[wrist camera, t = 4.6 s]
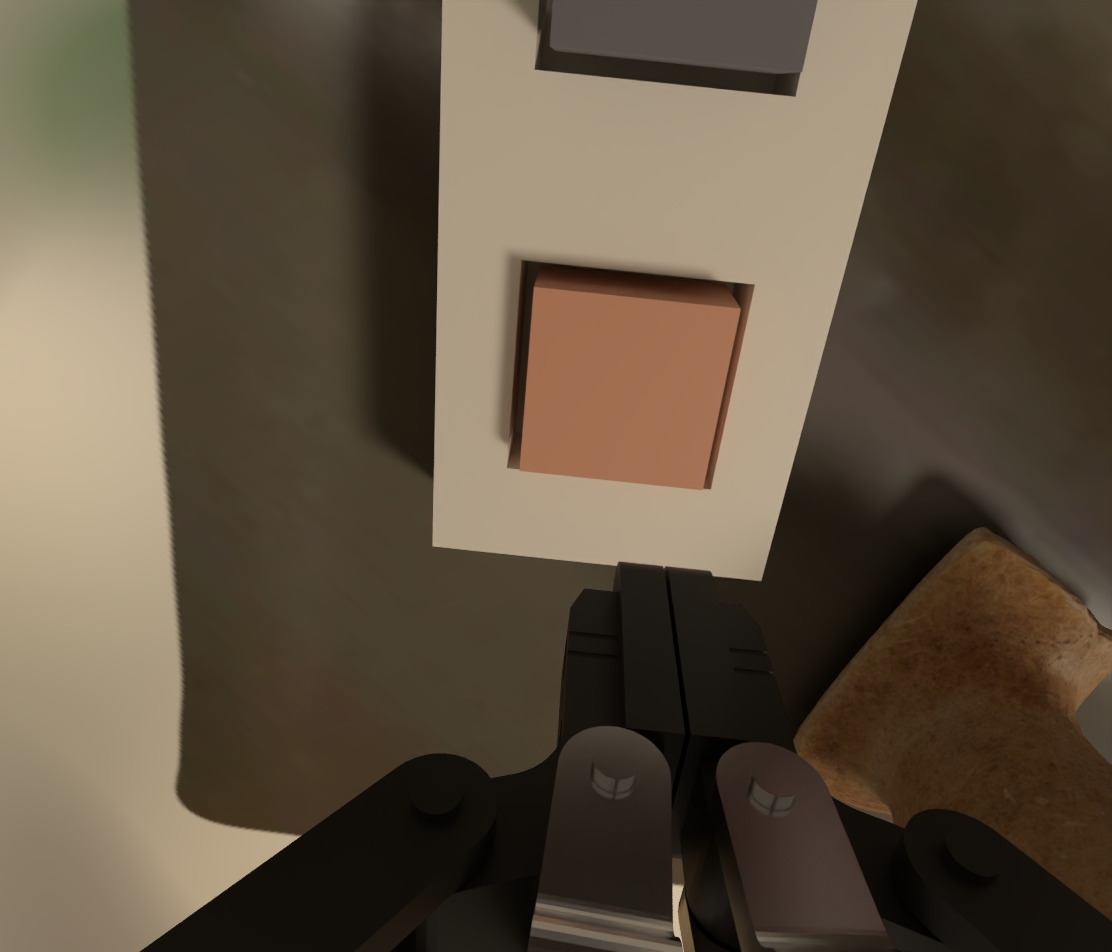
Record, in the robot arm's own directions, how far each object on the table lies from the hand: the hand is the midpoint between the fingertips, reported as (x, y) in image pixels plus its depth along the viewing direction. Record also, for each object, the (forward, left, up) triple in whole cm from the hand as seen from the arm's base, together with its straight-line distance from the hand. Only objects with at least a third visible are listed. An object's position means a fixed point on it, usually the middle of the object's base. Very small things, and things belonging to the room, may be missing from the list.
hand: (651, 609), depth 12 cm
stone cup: (+15, +17, -17) cm, 28 cm away
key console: (-5, 0, -17) cm, 17 cm away
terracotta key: (+1, 0, -15) cm, 15 cm away
